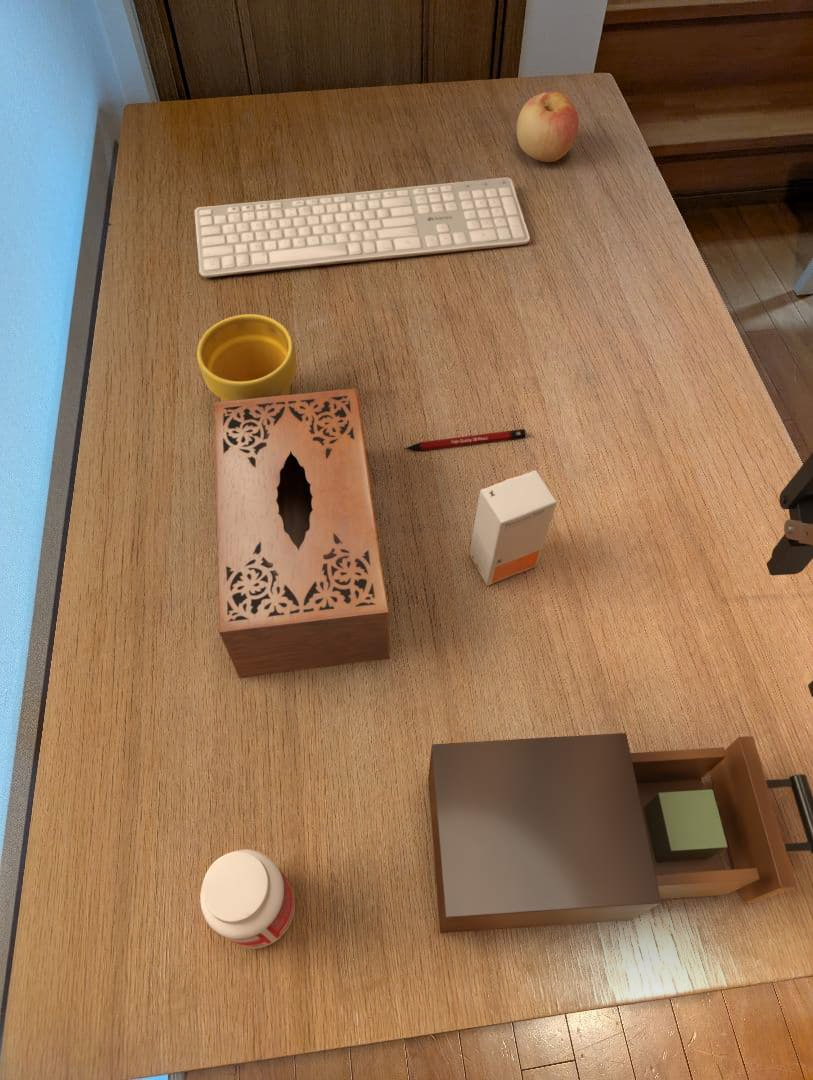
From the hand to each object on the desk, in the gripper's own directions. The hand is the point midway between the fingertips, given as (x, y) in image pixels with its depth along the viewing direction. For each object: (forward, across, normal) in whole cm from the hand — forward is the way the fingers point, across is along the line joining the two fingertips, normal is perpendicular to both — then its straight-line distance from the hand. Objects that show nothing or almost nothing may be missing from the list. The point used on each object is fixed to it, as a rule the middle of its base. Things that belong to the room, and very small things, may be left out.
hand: (802, 628), depth 52 cm
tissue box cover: (+26, +23, +34) cm, 49 cm away
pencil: (+26, +37, +16) cm, 48 cm away
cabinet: (+26, -7, +15) cm, 31 cm away
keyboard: (+26, +74, +26) cm, 82 cm away
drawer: (+25, -7, +2) cm, 26 cm away
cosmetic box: (+26, +21, +14) cm, 36 cm away
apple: (+26, +90, -1) cm, 94 cm away
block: (+24, -7, +3) cm, 25 cm away
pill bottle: (+26, -11, +38) cm, 47 cm away
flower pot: (+26, +43, +40) cm, 64 cm away
